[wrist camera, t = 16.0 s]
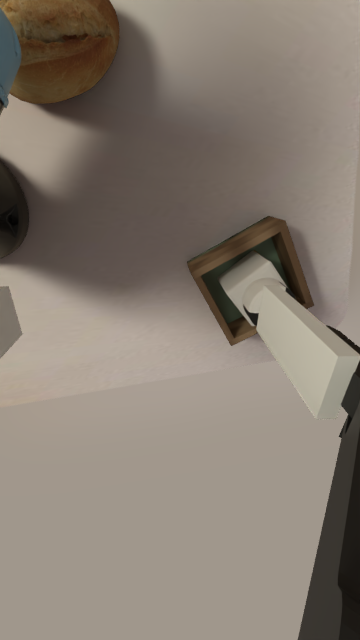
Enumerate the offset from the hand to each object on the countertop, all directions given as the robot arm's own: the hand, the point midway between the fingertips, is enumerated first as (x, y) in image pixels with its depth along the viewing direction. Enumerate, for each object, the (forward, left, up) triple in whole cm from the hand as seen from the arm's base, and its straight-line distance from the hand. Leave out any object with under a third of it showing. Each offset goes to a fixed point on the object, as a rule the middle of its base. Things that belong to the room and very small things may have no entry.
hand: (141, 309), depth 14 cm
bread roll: (+1, +21, -29) cm, 36 cm away
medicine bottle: (+9, -14, -28) cm, 33 cm away
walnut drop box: (+9, -14, -29) cm, 33 cm away
